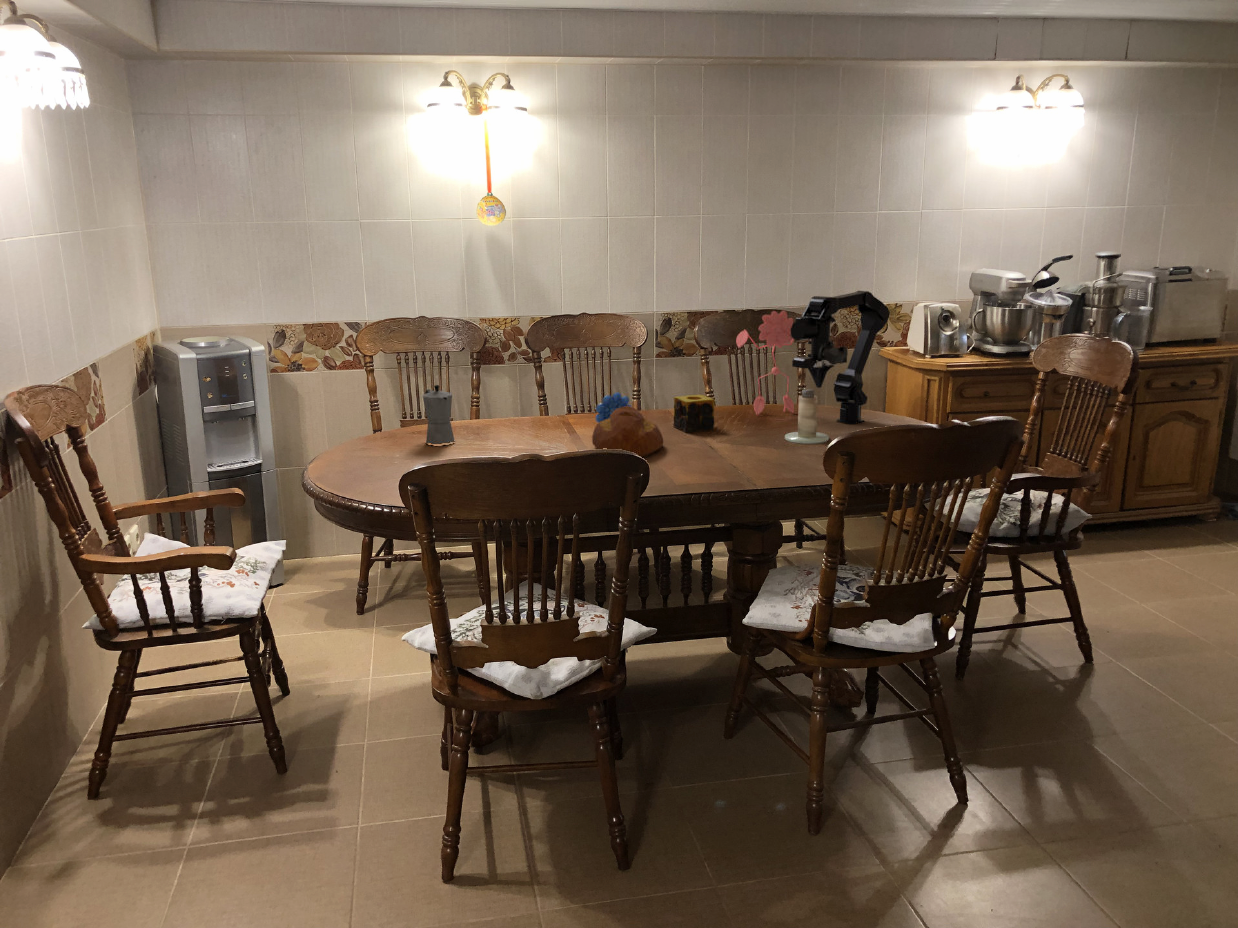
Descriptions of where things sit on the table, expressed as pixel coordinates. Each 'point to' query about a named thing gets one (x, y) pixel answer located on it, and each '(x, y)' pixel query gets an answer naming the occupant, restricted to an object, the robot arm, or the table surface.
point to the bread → (627, 432)
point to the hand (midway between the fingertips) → (818, 387)
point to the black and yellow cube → (693, 413)
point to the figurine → (774, 334)
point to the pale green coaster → (795, 439)
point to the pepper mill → (807, 414)
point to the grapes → (610, 406)
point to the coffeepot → (438, 416)
